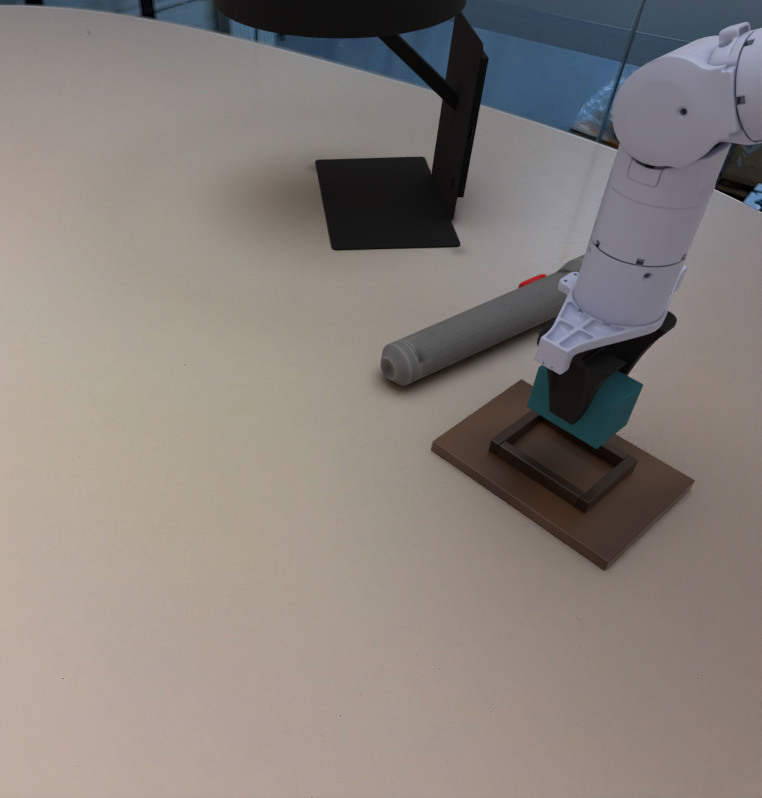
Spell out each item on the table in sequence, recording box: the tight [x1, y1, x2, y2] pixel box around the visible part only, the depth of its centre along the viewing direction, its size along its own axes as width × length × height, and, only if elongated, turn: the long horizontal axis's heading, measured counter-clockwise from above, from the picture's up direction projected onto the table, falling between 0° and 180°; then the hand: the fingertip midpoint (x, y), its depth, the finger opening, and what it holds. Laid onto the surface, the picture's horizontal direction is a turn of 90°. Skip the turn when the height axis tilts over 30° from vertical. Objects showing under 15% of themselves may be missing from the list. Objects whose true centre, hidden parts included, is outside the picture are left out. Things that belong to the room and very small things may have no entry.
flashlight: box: [380, 253, 585, 387], centre depth 77 cm, size 5×28×5 cm
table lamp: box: [213, 0, 490, 251], centre depth 85 cm, size 26×28×40 cm
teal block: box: [527, 364, 644, 449], centre depth 60 cm, size 6×4×4 cm, turn 39°
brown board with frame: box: [430, 378, 696, 571], centre depth 65 cm, size 16×12×2 cm
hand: (581, 402), depth 60 cm, fingers closed on teal block, 4 cm apart
